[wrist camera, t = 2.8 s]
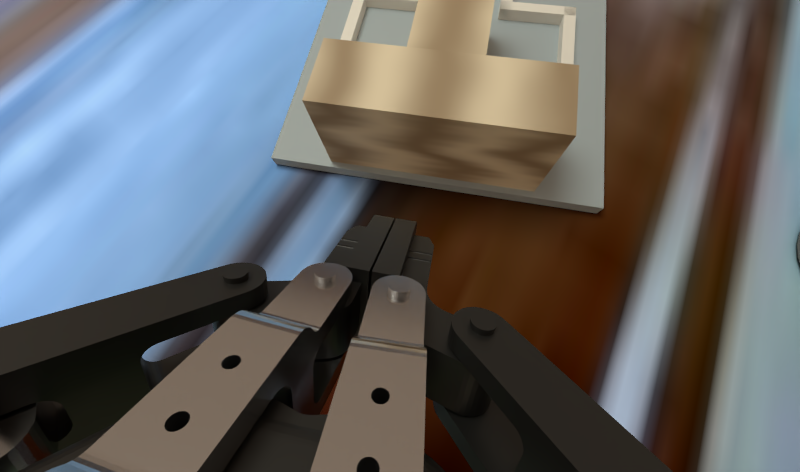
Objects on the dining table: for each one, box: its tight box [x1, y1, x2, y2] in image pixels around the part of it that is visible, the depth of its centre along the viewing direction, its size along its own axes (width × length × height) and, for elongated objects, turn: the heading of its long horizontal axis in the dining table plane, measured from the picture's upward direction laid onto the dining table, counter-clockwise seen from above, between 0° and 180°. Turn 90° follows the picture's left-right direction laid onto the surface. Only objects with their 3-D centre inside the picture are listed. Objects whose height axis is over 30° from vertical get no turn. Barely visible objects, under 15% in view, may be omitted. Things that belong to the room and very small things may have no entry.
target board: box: [271, 0, 606, 213], centre depth 30 cm, size 26×32×2 cm
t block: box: [302, 0, 579, 192], centre depth 25 cm, size 16×15×7 cm
